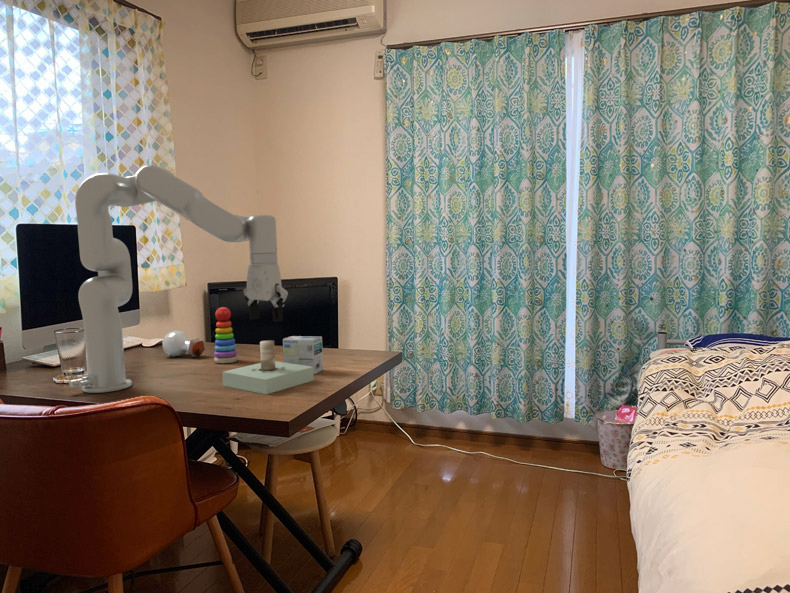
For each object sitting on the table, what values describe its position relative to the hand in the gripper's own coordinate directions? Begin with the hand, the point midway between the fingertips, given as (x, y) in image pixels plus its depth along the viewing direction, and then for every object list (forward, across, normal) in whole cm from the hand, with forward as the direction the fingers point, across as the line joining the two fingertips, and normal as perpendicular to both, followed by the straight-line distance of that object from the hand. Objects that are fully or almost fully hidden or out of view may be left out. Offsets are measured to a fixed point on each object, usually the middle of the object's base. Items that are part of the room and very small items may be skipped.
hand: (266, 320), depth 164 cm
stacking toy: (+18, -36, +13) cm, 42 cm away
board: (+18, 0, 0) cm, 18 cm away
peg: (+18, 0, 0) cm, 18 cm away
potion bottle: (+18, -58, +11) cm, 62 cm away
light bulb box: (+18, -2, +16) cm, 24 cm away
